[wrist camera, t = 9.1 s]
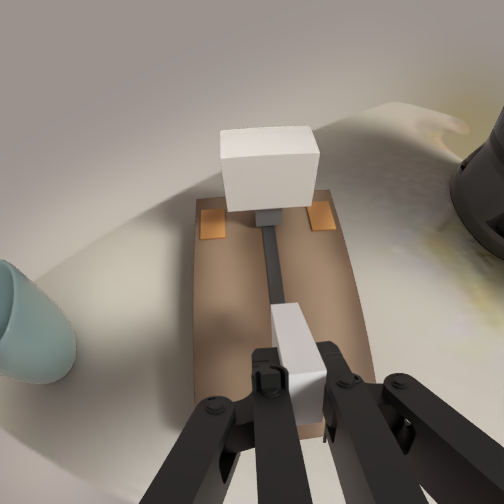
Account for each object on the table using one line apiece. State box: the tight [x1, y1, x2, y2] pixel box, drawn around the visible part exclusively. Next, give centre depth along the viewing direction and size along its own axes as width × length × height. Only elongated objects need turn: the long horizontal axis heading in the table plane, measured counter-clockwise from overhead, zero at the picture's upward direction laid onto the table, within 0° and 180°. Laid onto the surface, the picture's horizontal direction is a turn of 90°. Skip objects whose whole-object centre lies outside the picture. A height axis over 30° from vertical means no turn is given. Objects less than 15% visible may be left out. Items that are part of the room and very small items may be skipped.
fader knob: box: [220, 126, 320, 227], centre depth 21 cm, size 6×3×8 cm, turn 94°
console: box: [193, 190, 376, 440], centre depth 23 cm, size 12×20×3 cm, turn 4°
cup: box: [0, 260, 76, 384], centre depth 18 cm, size 8×8×10 cm
